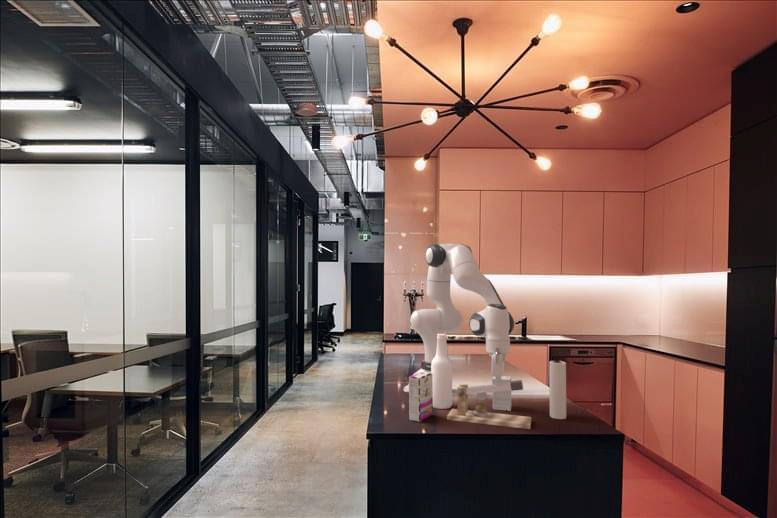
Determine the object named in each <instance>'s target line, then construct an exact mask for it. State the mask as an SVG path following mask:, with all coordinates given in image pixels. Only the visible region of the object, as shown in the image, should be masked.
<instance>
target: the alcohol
mask: <svg viewBox="0 0 777 518" xmlns="http://www.w3.org/2000/svg"><path fill="white" fill-rule="evenodd" d="M447 346H448V344H447V333H437V350H436V356H435V357H434V359H433V360H432V363H431V373H432V388H433V391H432V392H433V409H438V410H447V409H450V408H451V409H452V406H453V362H452V360H451V358H450V357H449V354H448V355H447Z"/></svg>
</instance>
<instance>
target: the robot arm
mask: <svg viewBox="0 0 777 518" xmlns="http://www.w3.org/2000/svg"><path fill="white" fill-rule="evenodd" d="M424 256H425V257H424V258H425V262H426V263H427V265H428V270H427V276H426V277H427V278H426V279H427V280H426V296H427V298H428V299H429V300H430V301H432V302H434V303H435V304H436V308H422V309H418V310H414V311H413V312H412V314H411V315H410V319H409V322H410V326H411V328H412V329H413V330H414V331H415V332H416V333H417V334H418V335H419V336H420V338H421V339H422V342H423V347H424V359H423V360H421V362H420V368H419V369H418V370H417V371H416V372H414V373H413V374H412V375H415V374H417V373H420V372H430V373H431V363H432V360H433V359H434V357H435V356H436V350H437V334H438V333H440V332H441V333H445V332H446V333H448V332H453V331H459V330H460V329H461V327H462V325H463V321H464V320H463V319H464V318H463V316H462V315H463V314H462V313H461V312H460V311H459V310H458V309H457V308H456V307H455V306H454V304H453V301H452V298H451V278H452V277H451V276H452V275H453V278H454V281H455V282H456V284H457V285H458V287H460V288H461V289H464V290H466V291H469V292H473V293H475V294H477V295H480V296H481V297H483V299H484V300H485V301H486V304H487V306H486V307H485V308H484V309H482V310H480V311H478V312H473V314H472V315H471V316H470V318H469V325H468V326H469V329H470V331H471V333H472V334H473V335H475V336H477V337H485V352H486V353H489V357H491V376H492V377H494V376H495V379H496V385H501V376H503V373H504V369H505V363H506V358H507V357H508V355H507V354H510V353H511V340H510V339H511V338H510V334H511V333H512V332H513V331H514V328H515V321H514V318H513V316H512V314H511V313H510V312H509V310H508V307H507V306H506V305H505V304H504V303H503V301H502V298H501V296H500V295H499V293H498V291H497V290H496V288H495V286H494V285H493V283H492V281H491V280H490V279H488V278H487V277H486V275H484V273H483V272H482V270H481V269H480V268H479V266H478V262H477V260H476V258H475V256H474V254H473V251H472V249H471V246H469V245H467V244H463V243H461V244H458V243H440V244H439V243H433V244H429V246H428V247H427V248H426V250H425V255H424ZM451 273H452V275H451ZM447 355H448V356H449V346H448V345H447ZM403 392H405V393H409V383H408V384H407V385H405V386H404V387H403Z"/></svg>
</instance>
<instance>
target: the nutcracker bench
mask: <svg viewBox="0 0 777 518" xmlns="http://www.w3.org/2000/svg"><path fill="white" fill-rule="evenodd" d="M466 387H469V384H463V383H459V386H457V387H456V388H457V391H456V393H457V395H456V396H457V397H456V398H457V401H456V403H457V408H451V409H450V411H449V412H448V414H447V415H446V420H448V421H453V422H454V421H456V422H463V423H464V422H465V423H473V424H481V425H490V426H499V427H506V428H507V427H508V428H516V429H517V428H518V429H525V430H527V429H528V430H531V425H532V417H531V416H525V415H524V416H523V415H516V414H507V413H498V412H497V413H496V412H489V411H488V410H487V406H486V405H485V404H484V403H482V402H481V403H477V404H476V406H475V409H474V410H469V409H468V408H469V407H468V406H469V403H468V402H469V399H468V398H469V397H468V395H469V394H466Z"/></svg>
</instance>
